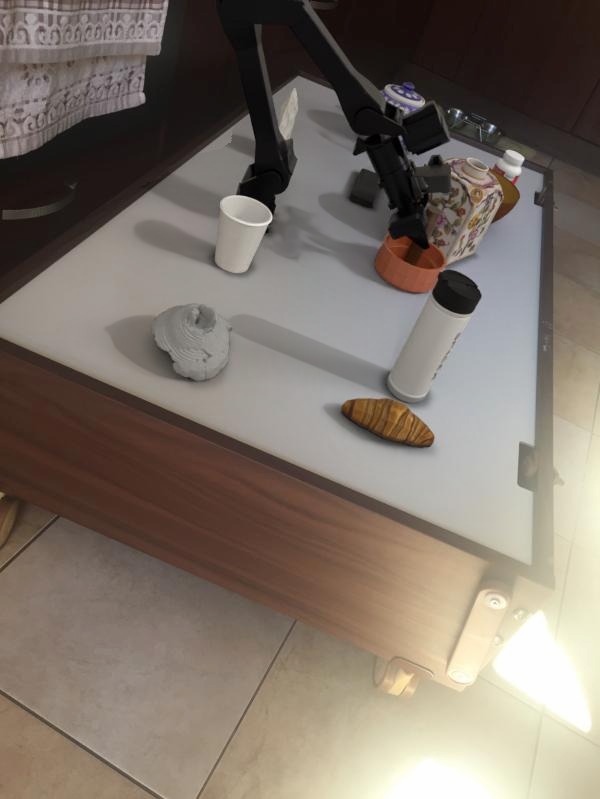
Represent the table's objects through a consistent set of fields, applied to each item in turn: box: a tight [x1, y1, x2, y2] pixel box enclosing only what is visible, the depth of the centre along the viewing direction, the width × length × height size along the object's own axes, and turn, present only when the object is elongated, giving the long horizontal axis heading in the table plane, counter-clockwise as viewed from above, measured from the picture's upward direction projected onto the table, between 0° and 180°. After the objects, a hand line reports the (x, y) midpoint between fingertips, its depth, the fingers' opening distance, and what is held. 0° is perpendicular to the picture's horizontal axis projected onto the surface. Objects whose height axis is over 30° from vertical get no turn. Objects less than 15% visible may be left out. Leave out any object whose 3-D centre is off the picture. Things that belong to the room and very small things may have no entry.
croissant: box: [341, 397, 436, 448], centre depth 99 cm, size 14×7×5 cm, turn 77°
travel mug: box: [385, 268, 483, 404], centre depth 103 cm, size 6×7×20 cm
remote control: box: [349, 168, 379, 208], centre depth 155 cm, size 5×2×15 cm
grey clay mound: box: [150, 303, 234, 382], centre depth 97 cm, size 12×12×11 cm
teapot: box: [379, 81, 426, 151], centre depth 173 cm, size 25×15×15 cm, turn 166°
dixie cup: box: [214, 194, 273, 274], centre depth 116 cm, size 8×8×10 cm
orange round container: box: [373, 232, 447, 294], centre depth 132 cm, size 12×12×6 cm
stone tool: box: [277, 87, 299, 140], centre depth 149 cm, size 8×3×15 cm, turn 156°
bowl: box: [443, 157, 521, 225], centre depth 155 cm, size 18×18×10 cm
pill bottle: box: [492, 149, 525, 186], centre depth 170 cm, size 6×6×11 cm
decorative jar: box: [422, 157, 504, 266], centre depth 141 cm, size 12×12×18 cm
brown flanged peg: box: [403, 206, 442, 266], centre depth 129 cm, size 4×4×13 cm
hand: (427, 244), depth 129 cm, fingers open, 3 cm apart
